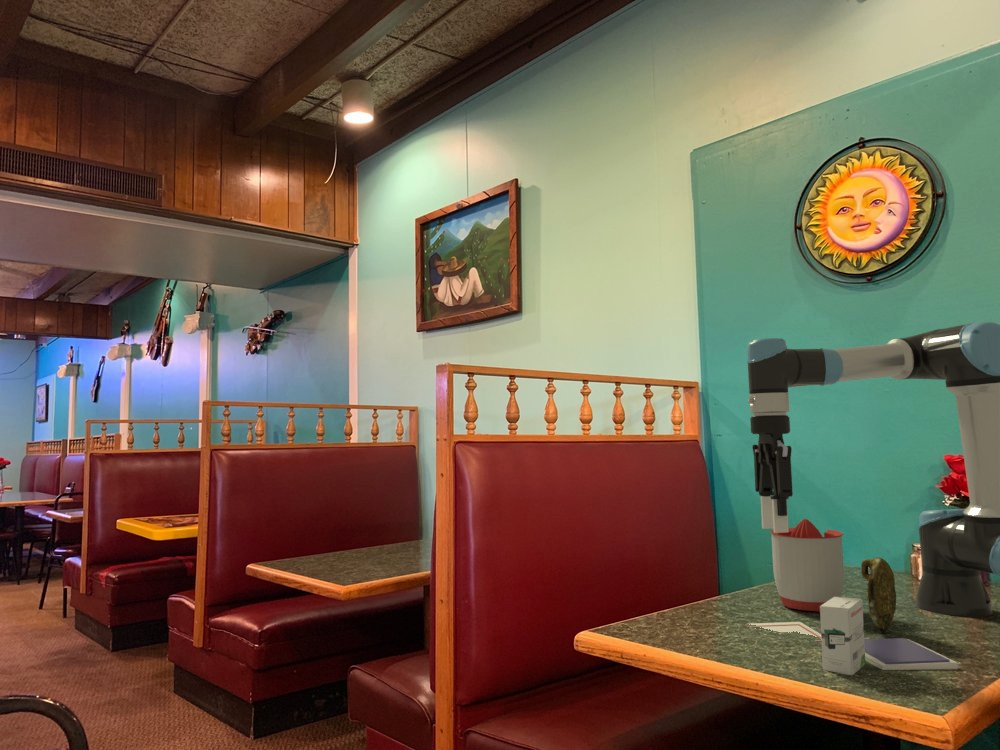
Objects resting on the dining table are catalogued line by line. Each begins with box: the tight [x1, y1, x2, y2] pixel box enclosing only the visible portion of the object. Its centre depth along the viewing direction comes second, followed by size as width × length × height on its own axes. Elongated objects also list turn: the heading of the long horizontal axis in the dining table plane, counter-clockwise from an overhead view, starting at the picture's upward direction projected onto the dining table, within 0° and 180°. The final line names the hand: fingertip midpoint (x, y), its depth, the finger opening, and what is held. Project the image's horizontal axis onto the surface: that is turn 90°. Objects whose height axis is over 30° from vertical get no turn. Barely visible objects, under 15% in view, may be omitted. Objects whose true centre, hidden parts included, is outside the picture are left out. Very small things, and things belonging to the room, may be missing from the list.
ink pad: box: [864, 637, 959, 671], centre depth 131 cm, size 13×14×2 cm
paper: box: [746, 621, 822, 642], centre depth 147 cm, size 16×16×1 cm
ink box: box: [819, 596, 866, 676], centre depth 125 cm, size 9×5×12 cm, turn 140°
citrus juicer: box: [769, 518, 845, 613], centre depth 170 cm, size 16×17×20 cm
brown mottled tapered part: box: [860, 557, 897, 634], centre depth 148 cm, size 9×5×15 cm, turn 132°
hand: (775, 530), depth 148 cm, fingers open, 5 cm apart
